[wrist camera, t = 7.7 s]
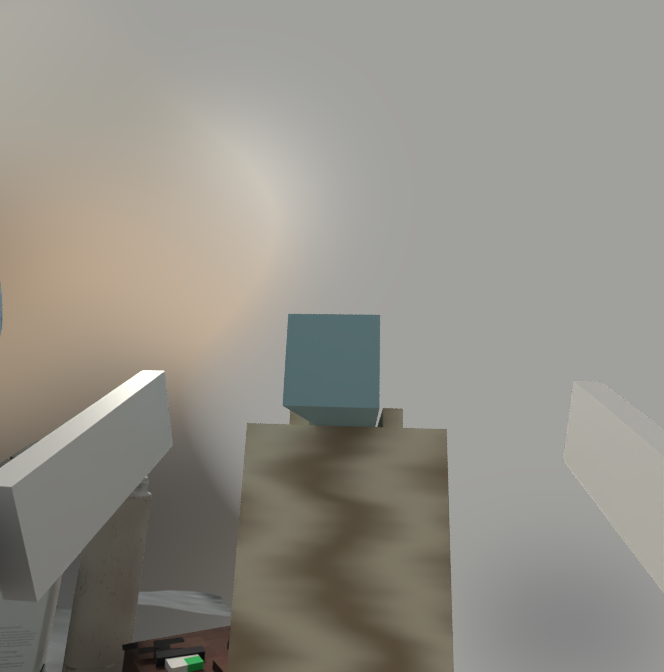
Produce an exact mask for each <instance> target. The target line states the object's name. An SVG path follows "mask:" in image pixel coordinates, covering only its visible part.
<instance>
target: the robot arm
mask: <svg viewBox="0 0 664 672" xmlns="http://www.w3.org/2000/svg"><path fill="white" fill-rule="evenodd" d="M1 329H2V295H1V284H0V334H1ZM172 445H173V443H172V435H171V425H170V417H169V407H168V398H167V389H166V381H165V372H164V371H145V370H143V371H141V372H139V373H138V374H137V375H135V376H134V377H132V378H131V379H129V380H128V381H126V382H125V383H123V384H122V385H120V386H119V387H118V388H116V389H115V390H113V391H112V392H110V393H109V394H107V395H106V396H104V397H103V398H101V399H100V400H99V401H97V402H96V403H94V404H93V405H91V406H90V407H88V408H87V409H85V410H84V411H83V412H81V413H80V414H78V415H77V416H75V417H74V418H72V419H71V420H69V421H68V422H66V423H65V424H63V425H62V426H61V427H59V428H58V429H56V430H55V431H53V432H52V433H50V434H49V435H47V436H46V437H44V438H43V439H41V440H39V441H37V442H34V443H32V444H30V445H28V446H26V447H24V448H23V449H21V450H20V451H18V452H17V453H15V454H14V455H12V456H11V457H10V459H6V460H5V461H3V462H2V463H0V588H1V593H2V597H3V600H15V601H29V602H38V601H39V600H40V598H41V597H42V596H43V595H44V594H45V593H46V591H47V590H48V589H49V588H50V587H51V586H52V584H53V583H54V582H55V581H56V580H57V579H58V578H59V576H60V575H61V574H62V573H63V572H64V571H65V569H66V568H67V567H68V566H69V565H70V564H71V562H72V561H73V560H74V559H75V558H76V557H77V556H78V554H79V553H80V552H81V551H82V550H83V549H84V547H85V546H86V545H87V544H88V543H89V542H90V540H91V539H92V538H93V537H94V536H95V535H96V534H97V532H98V531H99V530H100V529H101V528H102V527H103V525H104V524H105V523H106V522H107V521H108V520H109V518H110V517H111V516H112V515H113V514H114V513H115V512H116V510H117V509H118V508H119V507H120V506H121V505H122V503H123V502H124V501H125V500H126V499H127V498H128V496H129V495H130V494H131V493H132V492H133V491H134V490H135V488H136V487H137V486H138V485H139V484H140V483H141V481H142V480H143V479H144V478H145V477H146V476H147V474H148V473H149V472H150V471H151V469H153V468H154V466H155V465H156V464H157V463H158V462H159V461H160V459H161V458H162V457H163V456H164V455H165V454H166V452H167V451H168V450H169V449H170V448H171V447H172ZM563 461H564V463H565V464H566V465H567V467H568V468H569V469H570V471H571V472H572V473H573V475H574V476H575V477H576V478H577V480H578V481H579V482H580V484H581V485H582V486H583V488H585V490H586V492H587V493H588V494H589V496H590V497H591V498H592V500H593V501H594V502H595V504H596V505H597V506H598V507H599V509H600V510H601V511H602V513H603V514H604V515H605V517H606V518H607V519H608V520H609V522H610V523H611V524H612V526H613V527H614V529H615V530H616V531H617V532H618V534H619V535H620V537H621V538H622V539H623V540H624V542H625V543H626V544H627V546H628V547H629V548H630V550H631V551H632V552H633V554H634V555H635V556H636V558H637V559H638V560H639V562H640V563H641V564H642V566H643V567H644V568H645V570H646V571H647V572H648V573H649V575H650V576H651V577H652V579H653V580H654V581H655V583H656V584H657V585H658V587H659V588H660V589H661V591H662V592H663V593H664V429H663V428H662V427H660V426H659V425H658V424H656V423H655V422H653V421H652V420H651V419H650V418H648V417H647V416H646V415H644V414H643V413H641V412H640V411H639V410H638V409H636V408H635V407H634V406H632V405H631V404H630V403H628V402H627V401H626V400H624V399H623V398H622V397H620V396H619V395H618V394H616V393H615V392H614V391H612V390H611V389H610V388H608V387H607V386H606V385H604V384H603V383H602V382H600V381H574V384H573V391H572V398H571V405H570V413H569V419H568V426H567V433H566V440H565V447H564V455H563Z"/></svg>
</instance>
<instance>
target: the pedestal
mask: <svg viewBox="0 0 664 672" xmlns="http://www.w3.org/2000/svg"><path fill="white" fill-rule="evenodd" d="M451 599H452V598H451V565H450V531H449V496H448V461H447V429H418V428H417V429H416V428H403V409H393V408H383V410H382V414H381V417H380V420H379V423H378V427H354V426H321V425H314V424H312V423H311V422H309V421H307V420H306V419H304V418H302V417H301V416H299V415H297V414H296V413H294V412H292V411H291V410H290V425H286V424H256V423H247V432H246V444H245V456H244V470H243V481H242V493H241V505H240V517H239V530H238V542H237V554H236V566H235V578H234V590H233V603H232V615H231V627H230V639H229V651H228V664H227V672H454V668H453V632H452V600H451Z"/></svg>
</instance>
